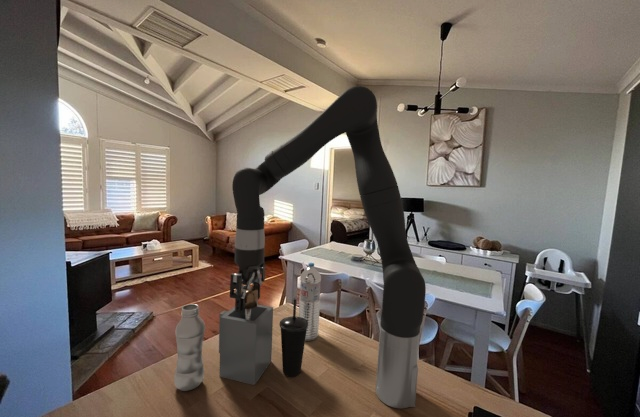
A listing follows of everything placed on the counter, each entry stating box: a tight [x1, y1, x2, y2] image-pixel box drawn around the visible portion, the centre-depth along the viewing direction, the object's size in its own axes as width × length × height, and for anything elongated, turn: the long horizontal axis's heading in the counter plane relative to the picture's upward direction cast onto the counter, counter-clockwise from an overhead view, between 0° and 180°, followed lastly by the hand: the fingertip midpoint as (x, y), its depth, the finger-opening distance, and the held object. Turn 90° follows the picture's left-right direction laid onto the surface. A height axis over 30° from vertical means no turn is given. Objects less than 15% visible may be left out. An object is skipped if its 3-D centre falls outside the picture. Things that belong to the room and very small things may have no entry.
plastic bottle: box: [173, 303, 206, 392], centre depth 68 cm, size 6×7×20 cm
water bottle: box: [298, 262, 322, 342], centre depth 93 cm, size 7×7×25 cm
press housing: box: [218, 304, 274, 386], centre depth 76 cm, size 13×10×16 cm
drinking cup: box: [279, 299, 308, 378], centre depth 75 cm, size 8×8×20 cm
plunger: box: [241, 286, 259, 320], centre depth 75 cm, size 7×7×20 cm
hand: (248, 305), depth 75 cm, fingers open, 8 cm apart
